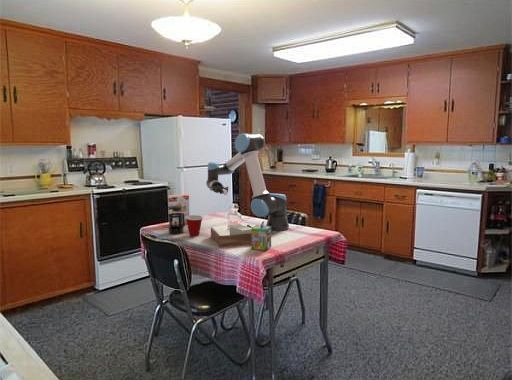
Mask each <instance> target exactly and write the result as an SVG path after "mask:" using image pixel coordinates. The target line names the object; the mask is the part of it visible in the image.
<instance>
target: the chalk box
mask: <svg viewBox="0 0 512 380" xmlns="http://www.w3.org/2000/svg"><path fill="white" fill-rule="evenodd" d="M264 223H265V220H263V221H262V222H261V224H260V225H259V224H256V225H254V226H252V227H253V228H252V230H251V234H252V244H251V250H257V251H265V252H266V251H268V250H269V249H270V248H272V230H271V226H266V225H264Z"/></svg>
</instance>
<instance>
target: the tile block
mask: <svg viewBox="0 0 512 380" xmlns="http://www.w3.org/2000/svg"><path fill="white" fill-rule="evenodd" d="M251 230H252V228H249V227H247V225H242V224H234V225H229V235H235V234H245V233H251Z"/></svg>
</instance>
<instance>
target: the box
mask: <svg viewBox="0 0 512 380" xmlns="http://www.w3.org/2000/svg"><path fill="white" fill-rule="evenodd" d="M246 227H249V228H253V227H254V226H252V225H250V224H246ZM210 238H211V240H212V241H213V242H214V243H215V244H216V245H217V246H218V247H219V248H222V247H223V248H225V247H233V246H235V247H236V246H242V245H244V246H245V245H252V234H251V233H245V234H235V235H230V234H227V235H220V234H219V233H218V232H217V231H216V230H215V229H214V228H213V227H210Z"/></svg>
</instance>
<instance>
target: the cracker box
mask: <svg viewBox="0 0 512 380" xmlns="http://www.w3.org/2000/svg"><path fill="white" fill-rule="evenodd" d="M172 197H178V198H176V200H174V198H172ZM167 198H168V207H169V206H182V210H181V211H176V213H184V222H185V226H188V225H187V221H186V218H185V217H186V216H189V215H190V195H189V194H171V195H168V197H167ZM171 213H175V211H173V210H172V209H171V210H169V209H168V214H171ZM172 216H175V215H172ZM176 216H178V215H176ZM177 221H178V222H179V217H178V218H176V222H177ZM173 222H175V218H173ZM173 226H177V225H173ZM182 226H183V222H182Z"/></svg>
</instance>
